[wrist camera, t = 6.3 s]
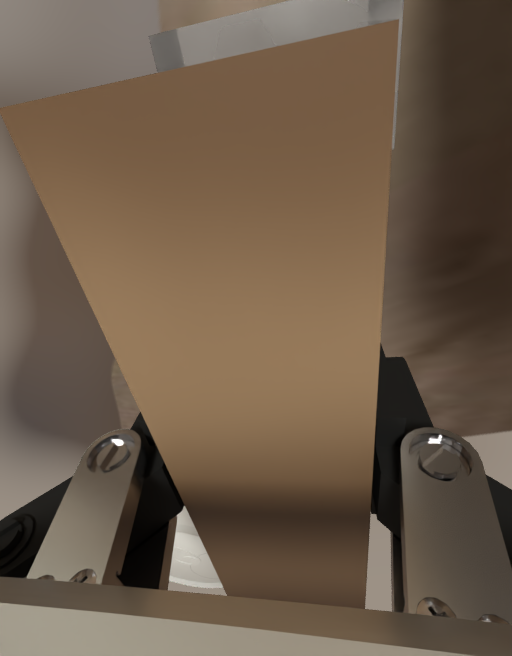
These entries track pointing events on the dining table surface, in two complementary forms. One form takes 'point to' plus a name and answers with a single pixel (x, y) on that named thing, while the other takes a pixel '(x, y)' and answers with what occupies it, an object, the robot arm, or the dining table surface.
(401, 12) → the bracket stand
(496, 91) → the dining table surface
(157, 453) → the robot arm
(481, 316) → the dining table surface
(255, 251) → the brown wooden block
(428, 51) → the dining table surface
